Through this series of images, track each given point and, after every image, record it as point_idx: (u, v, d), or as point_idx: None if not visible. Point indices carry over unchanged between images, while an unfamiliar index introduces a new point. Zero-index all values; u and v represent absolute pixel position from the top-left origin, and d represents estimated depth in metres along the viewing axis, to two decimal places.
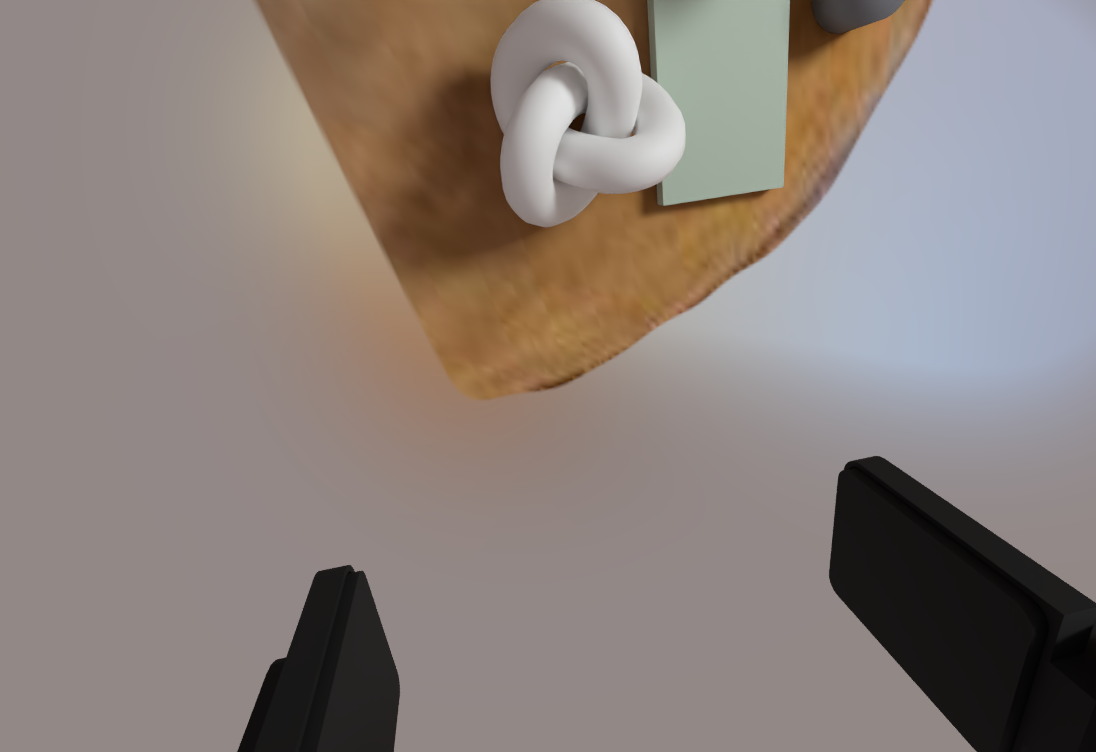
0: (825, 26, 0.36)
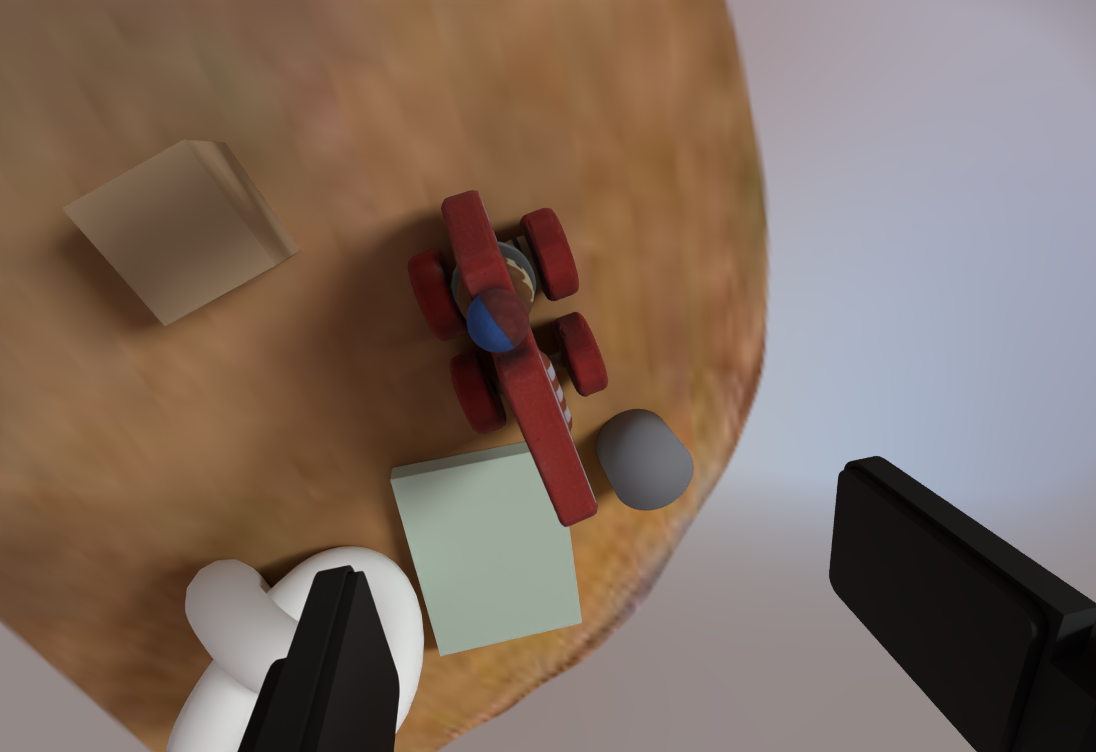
0: None
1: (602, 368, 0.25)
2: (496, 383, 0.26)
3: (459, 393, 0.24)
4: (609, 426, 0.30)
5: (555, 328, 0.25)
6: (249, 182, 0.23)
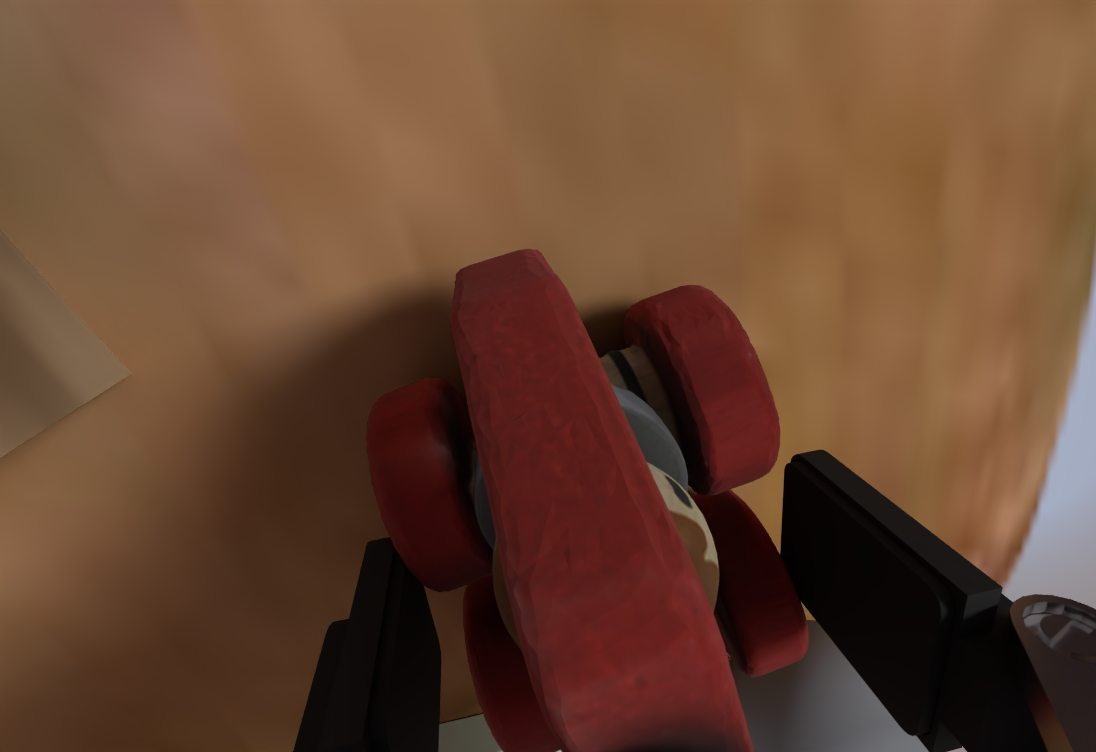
0: None
1: (806, 641, 0.11)
2: None
3: (485, 704, 0.11)
4: None
5: None
6: None
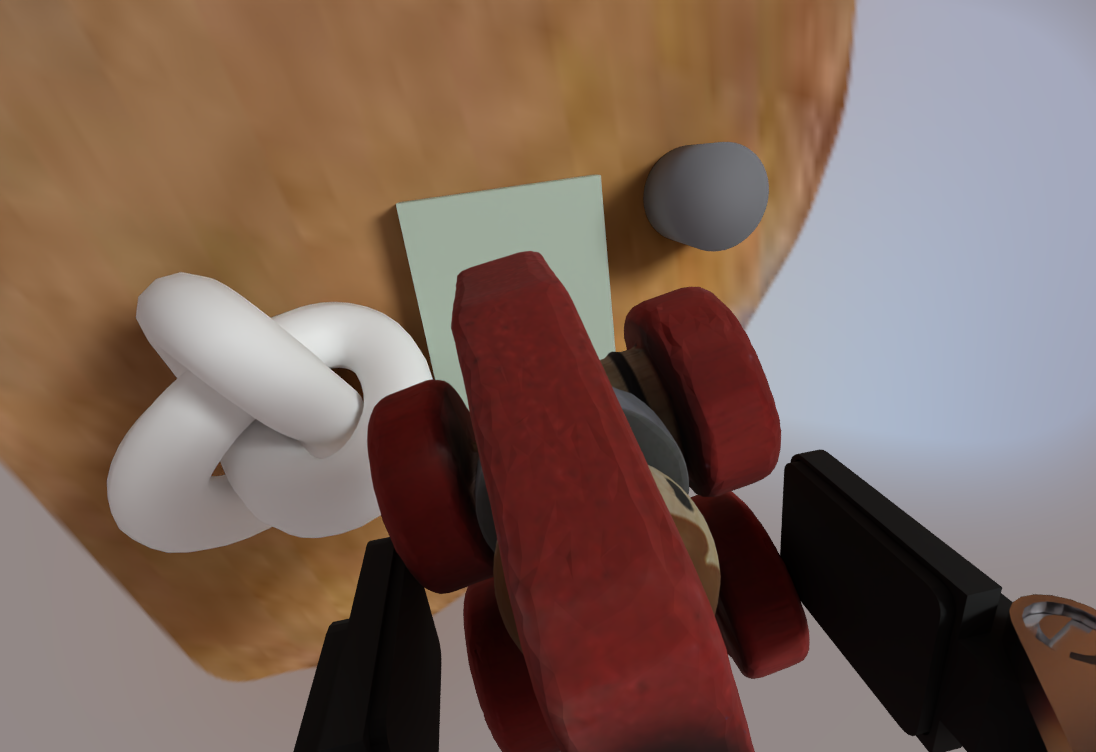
0: (663, 235, 0.26)
1: (807, 643, 0.11)
2: None
3: (485, 706, 0.11)
4: (662, 160, 0.25)
5: None
6: None
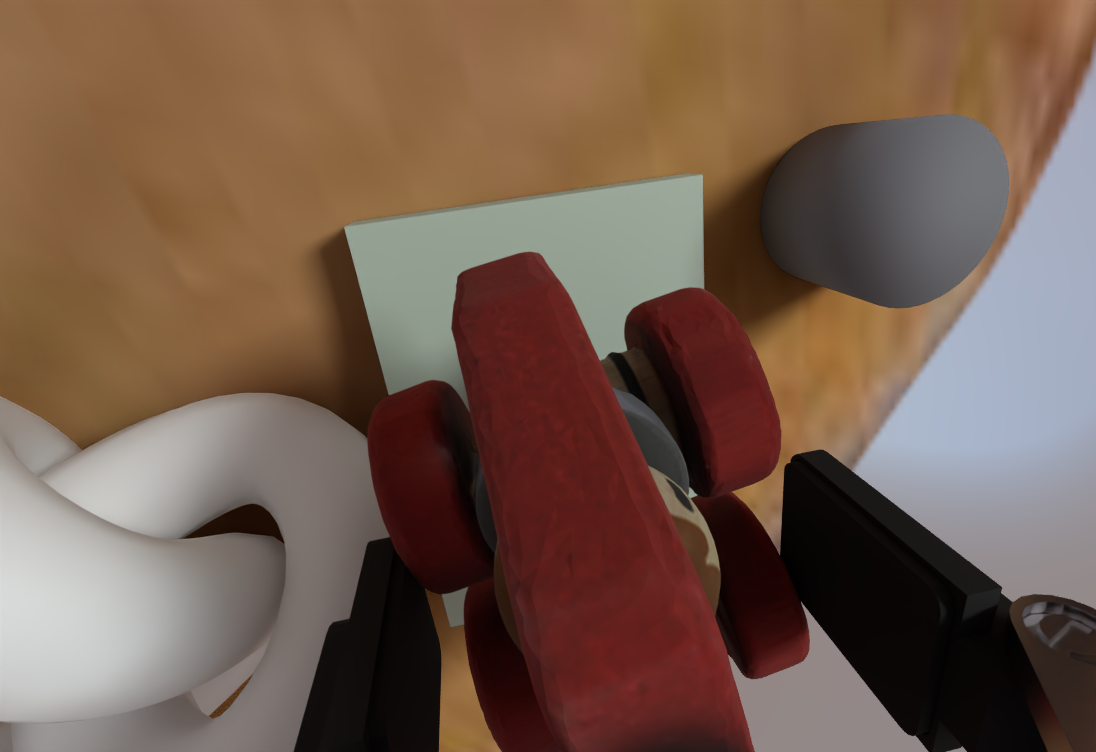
0: (789, 272, 0.16)
1: (807, 643, 0.11)
2: None
3: (486, 706, 0.11)
4: (801, 149, 0.15)
5: None
6: None
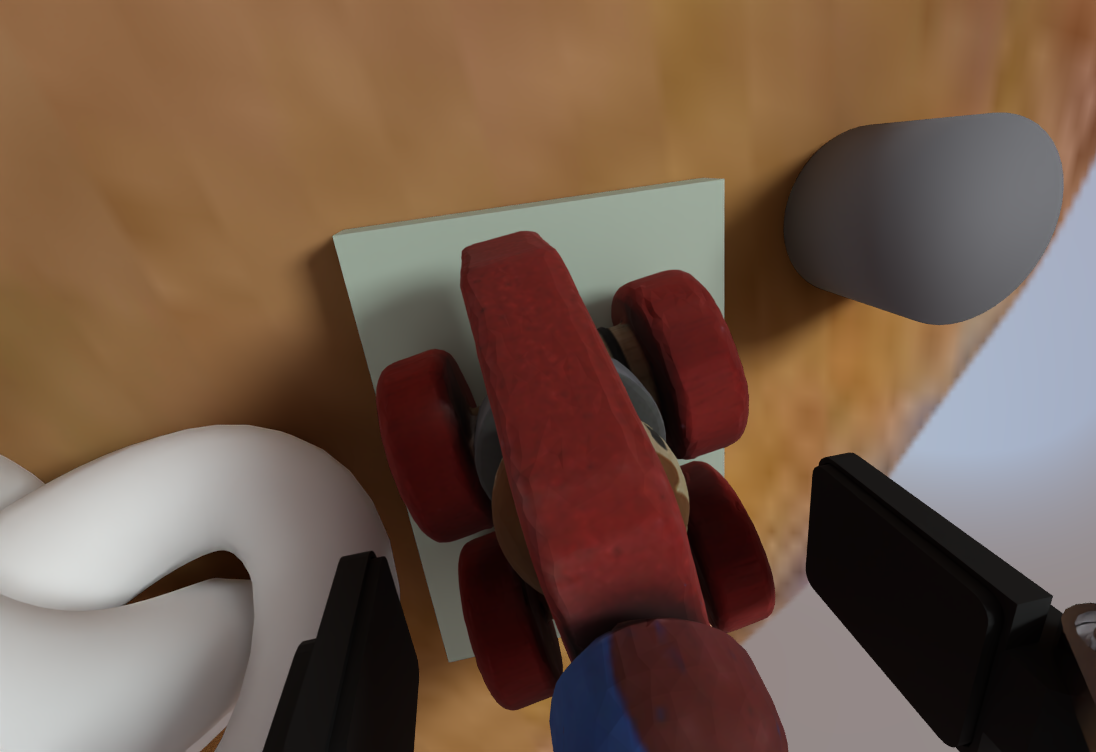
0: (815, 283, 0.15)
1: (772, 597, 0.12)
2: None
3: (478, 651, 0.12)
4: (830, 150, 0.13)
5: None
6: None
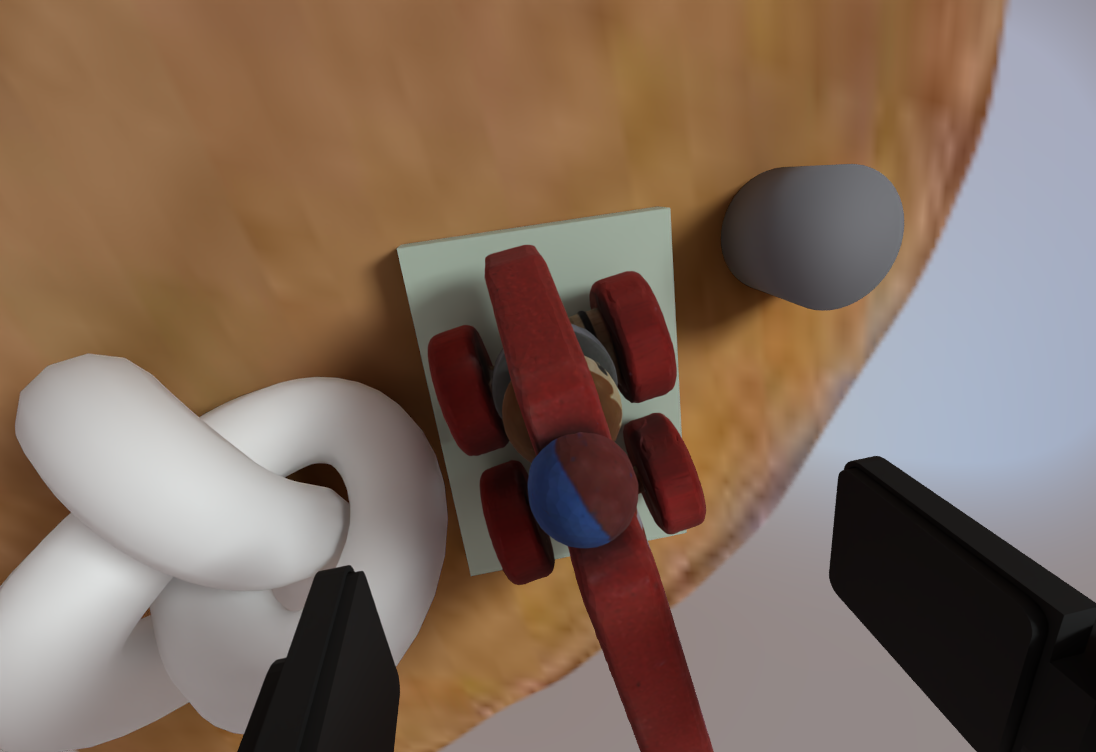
0: (745, 283, 0.20)
1: (702, 503, 0.17)
2: None
3: (493, 534, 0.17)
4: (750, 186, 0.19)
5: (632, 439, 0.18)
6: None
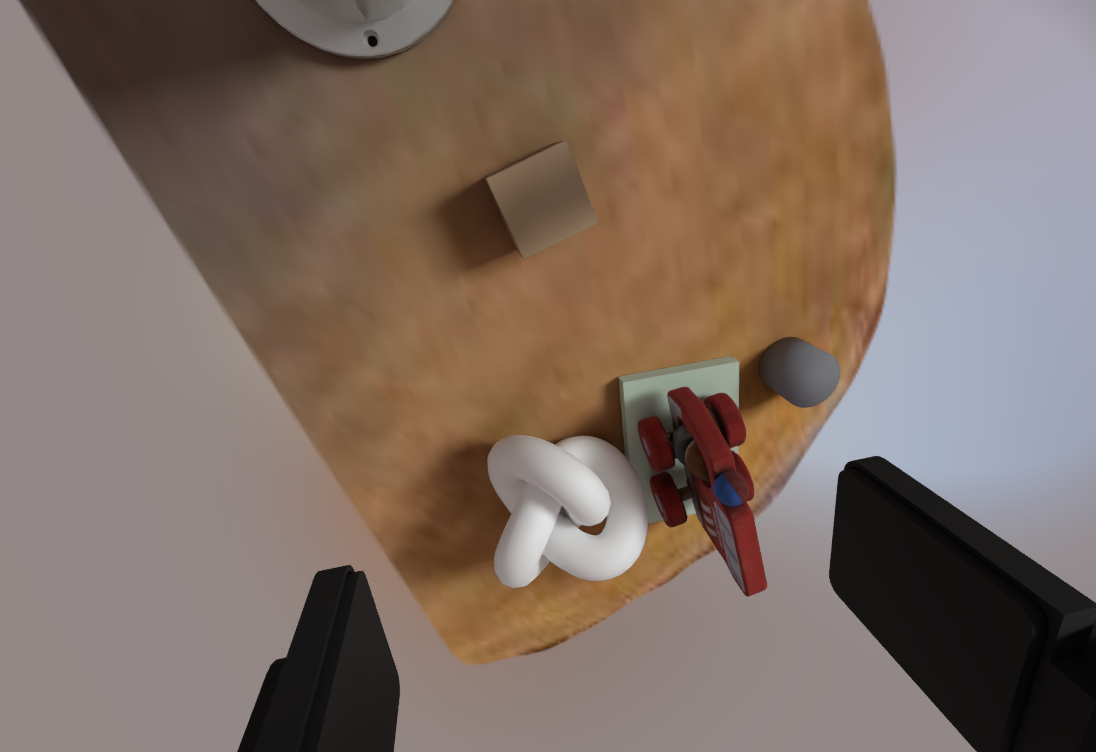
0: None
1: (753, 491, 0.40)
2: (681, 495, 0.41)
3: (665, 504, 0.39)
4: (773, 347, 0.41)
5: None
6: None
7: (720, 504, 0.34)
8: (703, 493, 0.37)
